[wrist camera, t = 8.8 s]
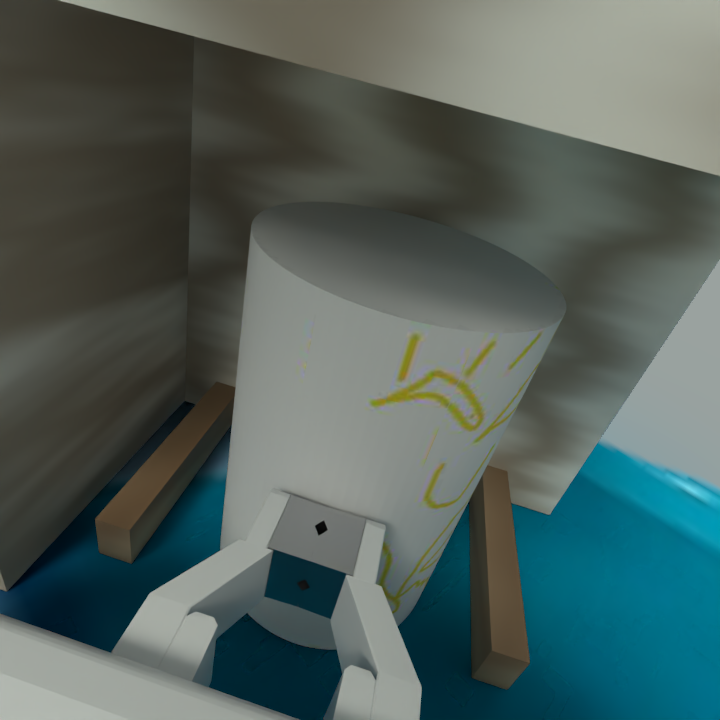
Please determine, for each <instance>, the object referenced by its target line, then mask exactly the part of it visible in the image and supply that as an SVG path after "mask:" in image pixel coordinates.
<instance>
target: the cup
mask: <svg viewBox="0 0 720 720" xmlns="http://www.w3.org/2000/svg"><path fill="white" fill-rule="evenodd" d="M565 312H566V301H565V299H564V296H563V295H562V293H561V291H560V290H559V289H558V288H557V286H556V285H555V284H554V283H553V282H552V281H551V280H550V279H549V278H548V277H546V276H545V275H544V274H543V273H541V272H540V271H539V270H537V269H536V268H535V267H533V266H532V265H530V264H529V263H527V262H525V261H524V260H522V259H520V258H519V257H517V256H515V255H513V254H512V253H510V252H508V251H506V250H504V249H502V248H500V247H498V246H496V245H494V244H491V243H489V242H487V241H485V240H482V239H480V238H478V237H475V236H473V235H470V234H467V233H465V232H462V231H459V230H457V229H454V228H451V227H448V226H445V225H442V224H439V223H436V222H432V221H429V220H426V219H422V218H418V217H415V216H411V215H407V214H403V213H399V212H394V211H389V210H384V209H379V208H374V207H368V206H361V205H354V204H346V203H334V202H296V203H287V204H282V205H277V206H274V207H271V208H268V209H266V210H264V211H262V212H260V213H259V214H258V215H257V216H256V217H255V218H254V220H253V221H252V225H251V234H250V244H249V254H248V265H247V275H246V285H245V295H244V305H243V316H242V326H241V336H240V346H239V357H238V367H237V377H236V387H235V397H234V408H233V418H232V428H231V438H230V449H229V459H228V469H227V479H226V489H225V500H224V510H223V520H222V530H221V541H220V550H222V549H223V548H225V547H227V546H228V545H230V544H232V543H233V542H235V541H236V540H238V539H241V540H244V541H245V539H246V537H247V535H248V533H249V531H250V529H251V527H252V525H253V523H254V521H255V519H256V517H257V515H258V513H259V511H260V509H261V507H262V505H263V504H264V502H265V500H266V498H267V496H268V494H269V492H270V491H271V490H272V489H273V488H274V489H277V490H280V491H283V492H285V493H288V494H291V495H295V496H297V497H300V498H303V499H306V500H309V501H312V502H314V503H317V504H320V505H323V506H326V507H331V508H334V509H337V510H341V511H344V512H347V513H350V514H354V515H357V516H360V517H363V518H366V519H368V520H371V521H375V522H378V523H381V524H384V525H385V526H386V531H385V537H384V542H383V548H382V553H381V558H380V564H379V569H378V575H377V580H376V584H377V585H379V586H382V589H383V591H384V594H385V596H386V599H387V601H388V604H389V606H390V609H391V611H392V614H393V616H394V619H395V621H396V624H397V626H399V625H400V624H401V623H402V622H403V621H404V620H405V619H406V618H407V616H408V615H409V614H410V613H411V611H412V610H413V608H414V607H415V605H416V603H417V601H418V599H419V597H420V595H421V593H422V592H423V590H424V588H425V586H426V584H427V582H428V580H429V578H430V576H431V574H432V572H433V570H434V568H435V566H436V564H437V562H438V560H439V558H440V556H441V554H442V553H443V551H444V549H445V547H446V545H447V543H448V541H449V539H450V537H451V535H452V533H453V531H454V529H455V527H456V525H457V523H458V521H459V519H460V517H461V515H462V514H463V512H464V510H465V508H466V506H467V504H468V502H469V500H470V498H471V496H472V494H473V492H474V490H475V488H476V486H477V484H478V482H479V480H480V478H481V476H482V475H483V473H484V471H485V469H486V467H487V465H488V463H489V461H490V459H491V457H492V455H493V453H494V451H495V449H496V447H497V445H498V443H499V441H500V439H501V438H502V436H503V434H504V432H505V430H506V428H507V426H508V424H509V422H510V420H511V418H512V416H513V414H514V412H515V410H516V408H517V406H518V404H519V402H520V400H521V399H522V397H523V395H524V393H525V391H526V389H527V387H528V385H529V383H530V381H531V379H532V377H533V375H534V373H535V371H536V369H537V367H538V365H539V363H540V361H541V360H542V358H543V356H544V354H545V352H546V350H547V348H548V346H549V344H550V342H551V340H552V338H553V336H554V334H555V332H556V330H557V328H558V326H559V324H560V322H561V321H562V319H563V317H564V315H565ZM247 613H248V614H249V615H250V616H251V617H252V618H253V619H254V620H255V621H256V622H257V623H259V624H260V625H261V626H263V627H264V628H265V629H267V630H268V631H270V632H272V633H273V634H275V635H277V636H279V637H281V638H283V639H285V640H288V641H290V642H293V643H296V644H299V645H302V646H306V647H311V648H317V649H329V650H330V649H337V648H336V644H335V640H334V635H333V631H332V627H331V622H330V620H331V619H329V618H326V617H323V616H321V615H318V614H315V613H313V612H310V611H307V610H304V609H302V608H299V607H296V606H293V605H290V604H286V603H283V602H280V601H277V600H273V599H270V598H267V597H264V598H263V600H262V601H260V602H259V603H258V604H257V605H256V606H254V607H253V608H252V609H251V610H250V611H249V612H247Z"/></svg>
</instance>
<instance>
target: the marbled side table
mask: <svg viewBox="0 0 720 720" xmlns="http://www.w3.org/2000/svg"><path fill="white" fill-rule="evenodd" d="M296 202H334V203H346V204H354V205H361V206H368V207H374V208H379V209H384V210H389V211H394V212H399V213H403V214H407V215H411V216H415V217H418V218H422V219H426V220H429V221H432V222H436V223H439V224H442V225H445V226H448V227H451V228H454V229H457V230H459V231H462V232H465V233H467V234H470V235H473V236H475V237H478V238H480V239H482V240H485V241H487V242H489V243H491V244H494V245H496V246H498V247H500V248H502V249H504V250H506V251H508V252H510V253H512V254H513V255H515V256H517V257H519V258H520V259H522V260H524V261H525V262H527V263H529V264H530V265H532V266H533V267H535V268H536V269H537V270H539V271H540V272H541V273H543V274H544V275H545V276H546V277H548V278H549V279H550V280H551V281H552V282H553V283H554V284H555V285H556V286H557V288H558V289H559V290H560V291H561V293H562V295H563V296H564V299H565V301H566V312H565V315H564V317H563V319H562V321H561V322H560V324H559V326H558V328H557V330H556V332H555V334H554V336H553V338H552V340H551V342H550V344H549V346H548V348H547V350H546V352H545V354H544V356H543V358H542V360H541V361H540V363H539V365H538V367H537V369H536V371H535V373H534V375H533V377H532V379H531V381H530V383H529V385H528V387H527V389H526V391H525V393H524V395H523V397H522V399H521V400H520V402H519V404H518V406H517V408H516V410H515V412H514V414H513V416H512V418H511V420H510V422H509V424H508V426H507V428H506V430H505V432H504V434H503V436H502V438H501V439H500V441H499V443H498V445H497V447H496V449H495V451H494V453H493V455H492V457H491V459H490V461H489V463H488V465H487V467H486V469H485V471H484V473H483V475H482V476H481V478H480V480H479V482H478V484H477V486H476V488H475V490H474V492H473V494H472V496H471V498H470V500H469V521H470V594H471V667H472V678H473V679H476V680H479V681H482V682H485V683H488V684H491V685H494V686H497V687H500V688H503V689H506V690H508V689H509V687H510V686H511V685H512V684H513V683H514V682H515V680H516V679H517V678H518V677H519V676H520V675H521V673H522V672H523V671H524V670H525V669H526V667H527V666H528V665H529V664H530V659H529V650H528V642H527V633H526V625H525V616H524V608H523V600H522V591H521V583H520V574H519V566H518V557H517V549H516V540H515V532H514V523H513V515H512V506H511V503H513V504H516V505H519V506H523V507H526V508H529V509H532V510H535V511H539V512H542V513H545V514H548V515H550V513H551V512H552V510H553V509H554V507H555V506H556V504H557V503H558V501H559V500H560V498H561V497H562V495H563V494H564V492H565V491H566V489H567V488H568V486H569V485H570V483H571V482H572V480H573V479H574V477H575V476H576V474H577V473H578V471H579V470H580V468H581V467H582V465H583V464H584V462H585V461H586V459H587V458H588V456H589V455H590V453H591V452H592V450H593V449H594V447H595V446H596V444H597V443H598V441H599V440H600V438H601V437H602V435H603V434H604V432H605V431H606V429H607V428H608V426H609V425H610V423H611V422H612V420H613V419H614V417H615V416H616V414H617V413H618V411H619V410H620V408H621V407H622V405H623V404H624V402H625V401H626V399H627V398H628V396H629V395H630V393H631V392H632V390H633V389H634V387H635V386H636V384H637V383H638V381H639V380H640V378H641V377H642V375H643V374H644V372H645V371H646V369H647V368H648V366H649V365H650V363H651V362H652V360H653V359H654V357H655V356H656V354H657V352H658V351H659V350H660V348H661V347H662V345H663V344H664V342H665V341H666V339H667V338H668V336H669V335H670V333H671V332H672V330H673V329H674V327H675V326H676V324H677V323H678V321H679V320H680V318H681V317H682V315H683V314H684V312H685V311H686V309H687V308H688V306H689V305H690V303H691V302H692V300H693V299H694V297H695V296H696V294H697V293H698V291H699V290H700V288H701V287H702V285H703V284H704V282H705V281H706V279H707V278H708V276H709V275H710V273H711V272H712V270H713V269H714V267H715V266H716V264H717V263H718V261H719V259H720V0H0V589H1V590H4V591H8V590H9V589H10V588H11V587H12V585H13V584H14V583H15V582H16V581H17V580H18V579H19V578H20V577H21V576H22V575H23V574H24V573H25V572H26V570H27V569H28V568H29V567H30V566H31V565H32V564H33V563H34V562H35V561H36V560H37V559H38V558H39V557H40V555H41V554H42V553H43V552H44V551H45V550H46V549H47V548H48V547H49V546H50V545H51V544H52V543H53V542H54V540H55V539H56V538H57V537H58V536H59V535H60V534H61V533H62V532H63V531H64V530H65V529H66V528H67V527H68V525H69V524H70V523H71V522H72V521H73V520H74V519H75V518H76V517H77V516H78V515H79V514H80V513H81V512H82V510H83V509H84V508H85V507H86V506H87V505H88V504H89V503H90V502H91V501H92V500H93V499H94V498H95V496H96V495H97V494H98V493H99V492H100V491H101V490H102V489H103V488H104V487H105V486H106V485H107V484H108V483H109V481H110V480H111V479H112V478H113V477H114V476H115V475H116V474H117V473H118V472H119V471H120V470H121V469H122V468H123V466H124V465H125V464H126V463H127V462H128V461H129V460H130V459H131V458H132V457H133V456H134V455H135V454H136V453H137V451H138V450H139V449H140V448H141V447H142V446H143V445H144V444H145V443H146V442H147V441H148V440H149V439H150V438H151V436H152V435H153V434H154V433H155V432H156V431H157V430H158V429H159V428H160V427H161V426H162V425H163V424H164V423H165V421H166V420H167V419H168V418H169V417H170V416H171V415H172V414H173V413H174V412H175V411H176V410H177V409H178V408H179V406H180V405H181V404H182V403H183V402H184V401H187V402H190V403H193V404H196V405H195V406H194V407H193V409H192V410H191V411H190V412H189V413H188V414H187V415H186V417H185V418H184V419H183V420H182V421H181V422H180V423H179V424H178V426H177V427H176V428H175V429H174V430H173V431H172V432H171V433H170V435H169V436H168V437H167V438H166V439H165V440H164V441H163V443H162V444H161V445H160V446H159V447H158V448H157V449H156V450H155V452H154V453H153V454H152V455H151V456H150V457H149V458H148V459H147V461H146V462H145V463H144V464H143V465H142V466H141V467H140V469H139V470H138V471H137V472H136V473H135V474H134V475H133V476H132V478H131V479H130V480H129V481H128V482H127V483H126V484H125V485H124V487H123V488H122V489H121V490H120V491H119V492H118V493H117V495H116V496H115V497H114V498H113V499H112V500H111V501H110V502H109V504H108V505H107V506H106V507H105V508H104V509H103V510H102V512H101V513H100V514H99V515H98V516H97V517H96V518H95V524H96V532H97V540H98V548H99V553H101V554H104V555H107V556H110V557H113V558H116V559H119V560H122V561H125V562H128V563H131V564H132V563H133V561H134V560H135V558H136V557H137V556H138V554H139V553H140V551H141V550H142V549H143V547H144V546H145V544H146V543H147V542H148V540H149V539H150V537H151V536H152V535H153V533H154V532H155V531H156V529H157V528H158V526H159V525H160V524H161V522H162V521H163V519H164V518H165V517H166V515H167V514H168V512H169V511H170V510H171V508H172V507H173V505H174V504H175V503H176V501H177V500H178V499H179V497H180V496H181V494H182V493H183V492H184V490H185V489H186V487H187V486H188V485H189V483H190V482H191V480H192V479H193V478H194V476H195V475H196V474H197V472H198V471H199V469H200V468H201V467H202V465H203V464H204V462H205V461H206V460H207V458H208V457H209V455H210V454H211V453H212V451H213V450H214V448H215V447H216V446H217V444H218V443H219V442H220V440H221V439H222V437H223V436H224V435H225V433H226V432H227V430H228V429H229V428H230V426H231V425H232V418H233V408H234V397H235V387H236V377H237V367H238V357H239V346H240V336H241V326H242V316H243V305H244V295H245V285H246V275H247V265H248V254H249V244H250V234H251V225H252V221H253V220H254V218H255V217H256V216H257V215H258V214H259V213H260V212H262V211H264V210H266V209H268V208H271V207H274V206H277V205H282V204H287V203H296Z"/></svg>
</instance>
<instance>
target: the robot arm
mask: <svg viewBox="0 0 720 720" xmlns="http://www.w3.org/2000/svg"><path fill="white" fill-rule="evenodd" d="M385 531H386V526H385V525H384V524H381V523H378V522H375V521H371V520H368V519H366V518H363V517H360V516H357V515H354V514H350V513H347V512H344V511H341V510H337V509H334V508H331V507H326V506H323V505H320V504H317V503H314V502H312V501H309V500H306V499H303V498H300V497H297V496H295V495H291V494H288V493H285V492H283V491H280V490H277V489H274V488H273V489H272V490H271V491H270V492H269V494H268V496H267V498H266V500H265V502H264V504H263V505H262V507H261V509H260V511H259V513H258V515H257V517H256V519H255V521H254V523H253V525H252V527H251V529H250V531H249V533H248V535H247V537H246V539H245V541H244V540H241V539H238V540H236V541H235V542H233V543H232V544H230V545H228V546H227V547H225V548H223V549H222V550H220V551H218V552H217V553H215V554H213V555H212V556H210V557H208V558H207V559H205V560H204V561H202V562H200V563H199V564H197V565H195V566H194V567H192V568H190V569H189V570H187V571H185V572H184V573H182V574H180V575H179V576H177V577H176V578H174V579H172V580H171V581H169V582H167V583H166V584H164V585H162V586H161V587H159V588H157V589H156V590H154V591H152V592H151V593H150V594H149V595H148V597H147V598H146V600H145V601H144V603H143V604H142V606H141V607H140V609H139V610H138V612H137V614H136V615H135V617H134V618H133V620H132V621H131V623H130V624H129V626H128V627H127V629H126V630H125V632H124V633H123V635H122V637H121V638H120V640H119V641H118V643H117V644H116V646H115V647H114V649H113V650H112V652H111V653H110V652H107V651H104V650H102V649H99V648H96V647H93V646H90V645H87V644H85V643H82V642H79V641H76V640H73V639H70V638H68V637H65V636H62V635H59V634H56V633H53V632H51V631H48V630H45V629H42V628H39V627H36V626H34V625H31V624H28V623H25V622H22V621H20V620H17V619H14V618H11V617H8V616H5V615H3V614H0V720H299V719H297V718H294V717H291V716H288V715H285V714H282V713H280V712H277V711H274V710H271V709H268V708H266V707H263V706H260V705H257V704H254V703H251V702H249V701H246V700H243V699H240V698H237V697H234V696H232V695H229V694H226V693H223V692H220V691H218V690H215V689H212V688H209V685H210V683H211V678H212V670H213V661H214V653H215V644H216V639H217V638H218V637H219V636H220V635H221V634H223V633H224V632H225V631H226V630H227V629H228V628H230V627H231V626H232V625H233V624H234V623H236V622H237V621H238V620H239V619H240V618H241V617H243V616H244V615H245V614H246V613H247V612H249V611H250V610H251V609H252V608H253V607H254V606H256V605H257V604H258V603H259V602H260V601H262V600H263V598H264V597H267V598H270V599H273V600H277V601H280V602H283V603H286V604H290V605H293V606H296V607H299V608H302V609H304V610H307V611H310V612H313V613H315V614H318V615H321V616H323V617H326V618H329V619H331V620H330V622H331V627H332V631H333V635H334V640H335V644H336V648H337V653H338V657H339V661H340V666H341V670H342V677H341V679H340V681H339V684H338V686H337V688H336V691H335V693H334V695H333V698H332V700H331V702H330V704H329V707H328V709H327V711H326V714H325V716H324V718H323V720H419V718H420V705H421V691H422V687H421V684H420V682H419V679H418V677H417V674H416V672H415V669H414V667H413V664H412V662H411V659H410V657H409V654H408V652H407V649H406V647H405V644H404V642H403V639H402V636H401V634H400V631H399V629H398V626H397V624H396V621H395V619H394V616H393V614H392V611H391V609H390V606H389V604H388V601H387V599H386V596H385V594H384V591H383V589H382V586H379V585H377V584H376V580H377V575H378V569H379V564H380V558H381V553H382V548H383V542H384V537H385Z"/></svg>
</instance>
